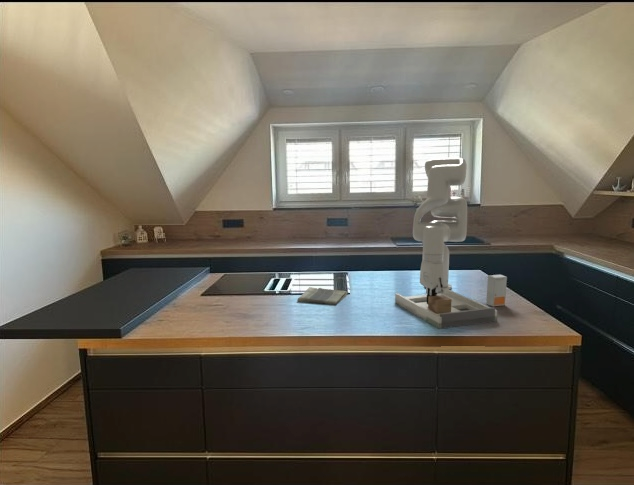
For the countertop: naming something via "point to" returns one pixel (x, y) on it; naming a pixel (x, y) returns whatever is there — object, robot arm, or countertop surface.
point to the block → (439, 304)
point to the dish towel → (322, 296)
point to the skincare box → (496, 290)
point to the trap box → (460, 315)
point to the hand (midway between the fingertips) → (431, 304)
